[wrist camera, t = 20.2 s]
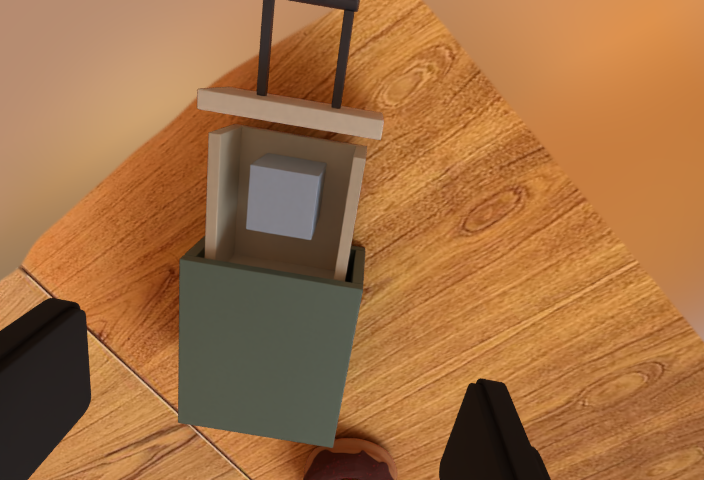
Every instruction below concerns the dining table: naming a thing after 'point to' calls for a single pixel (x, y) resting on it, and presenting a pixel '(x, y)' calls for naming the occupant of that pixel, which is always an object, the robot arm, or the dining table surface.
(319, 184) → the block
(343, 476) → the donut
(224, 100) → the drawer
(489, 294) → the dining table surface
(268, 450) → the dining table surface
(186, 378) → the cabinet
